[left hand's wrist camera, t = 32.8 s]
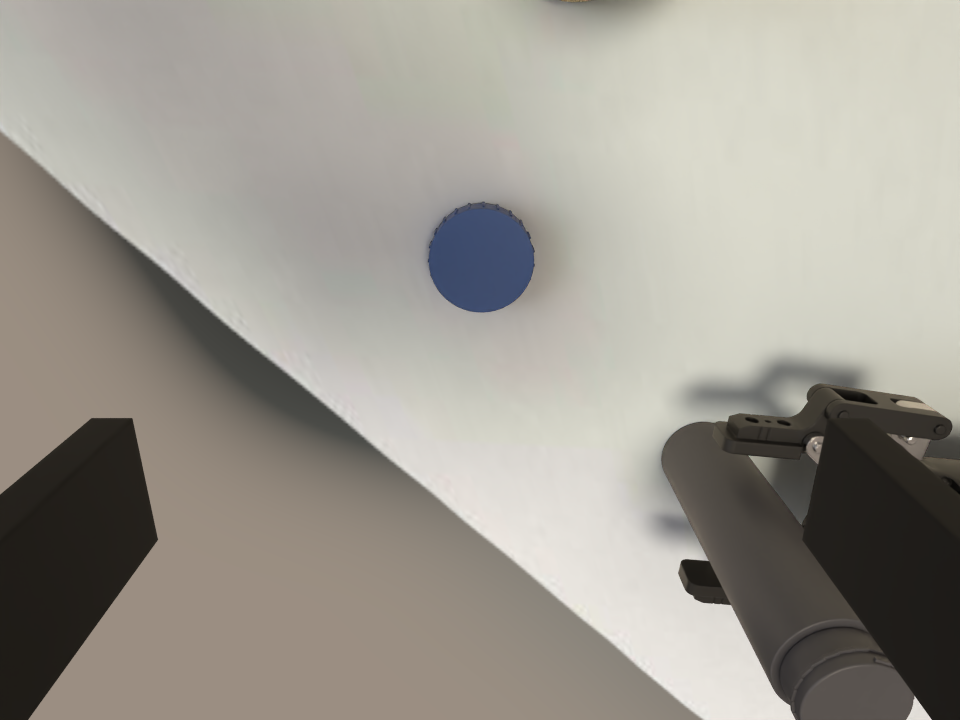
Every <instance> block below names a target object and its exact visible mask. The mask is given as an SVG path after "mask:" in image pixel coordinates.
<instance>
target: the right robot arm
mask: <svg viewBox="0 0 960 720" xmlns="http://www.w3.org/2000/svg"><path fill="white" fill-rule="evenodd" d="M807 400H808V403H807V404H806V405H805V407H804V408H803V410H802V411H801V412H800V413H799V414H797V415H795V416H792V417H788V418H785V417H774V416H763V415H760V416H759V415H750V414H736V415H732V416H729V419H728V422H722V421H719V422H716V423H715V427H714V431H713V435H712V436H713V438H714V439H715V441H716V442H717V444H718V445H719V446H720V448H721V449H722V450H723V451H725V452H727V453H731V454H739V455H750V456H762V457H773V458H785V459H796V460H799V459H800V456H801V453H807V454H808V455H809V456H810V457H811V458H812V459H813V460H814V461H815V462H816V463H817V464H818V462H819V457H820V453H821V448H822V443H823V438H824V434H825V429H826V424H827V419H828V418H869V419H870V420H871V421H872V422H873V423H875V424H876V425H877V426H878V427H879V428H881V429H882V430H883V431H884V432H885V433H887V434H888V435H889V436H890V437H891V438H893V439H894V440H895V441H896V442H897V443H899V444H900V445H901V446H902V447H903V448H904V449H906V450H907V451H908V452H909V453H910V454H912V455H913V456H914V457H915V458H916V459H918V460H919V461H920V462H921V463H922V464H924V465H925V466H926V467H927V468H928V469H930V470H931V471H932V472H933V473H934V474H936V475H937V476H938V477H939V478H940V479H942V480H943V481H944V482H945V483H946V484H948V485H949V486H950V487H951V488H952V489H954V490H955V491H956V492H957V493H958V494H960V460H956V459H945V458H933V457H924V455H925V452H926V450H927V448H928V446H929V443H930V441H931V440H941V439H943V438H945V437H947V436H948V435H949V434H950V432H951V430H952V423H951V421H950V420H949V419H947V418H946V417H944V416H943V415H941V414H940V413H938V412H937V411H935V410H934V409H932V408H931V407H929V406H928V405H926V404H925V403H923V402H922V401H920V400H919V399H917V398H915V397H909V396H903V395H896V394H889V393H882V392H875V391H868V390H862V389H855V388H848V387H841V386H834V385H827V384H816V385H814V386H813V387H811V388H810V389H809V391H808V393H807ZM811 495H812V494H811ZM806 519H807V516H806V518H805V519H804V521H803V523H802V527H803V528H804V529H805V524H806ZM678 574H679V576H680V579H681V581H682V583H683V586H684V588H685V590H686V592H688V593H689V594H691V595H693V596H694V599H696V600H698V601H700V602H703V603H715V604H725V605H731V604H730V602H729V600H728V598H727V596H726V594H725V592H724V590H723V588H722V586H721V584H720V582H719V580H718V578H717V576H716V574H715V572H714V570H713V568H712V566H711V564H710V562H709V561H701V560H689V559H685V560H682V561H681V564H680V568H679V572H678Z"/></svg>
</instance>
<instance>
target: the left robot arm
mask: <svg viewBox="0 0 960 720" xmlns="http://www.w3.org/2000/svg"><path fill="white" fill-rule="evenodd" d="M157 540H158V538H157V533H156V529H155V524H154V519H153V514H152V510H151V505H150V500H149V495H148V491H147V486H146V481H145V476H144V472H143V467H142V462H141V458H140V453H139V448H138V443H137V438H136V434H135V429H134V424H133V419H132V418H91V419H90V420H89V421H88V422H87V423H85V424H84V425H83V426H82V427H81V428H79V429H78V430H77V431H76V432H75V433H73V434H72V435H71V436H70V437H69V438H67V439H66V440H65V441H64V442H63V443H61V444H60V445H59V446H58V447H57V448H56V449H54V450H53V451H52V452H51V453H50V454H48V455H47V456H46V457H45V458H44V459H42V460H41V461H40V462H39V463H38V464H36V465H35V466H34V467H33V468H32V469H30V470H29V471H28V472H27V473H26V474H24V475H23V476H22V477H21V478H20V479H18V480H17V481H16V482H15V483H14V484H13V485H11V486H10V487H9V488H8V489H6V490H5V491H4V492H3V493H2V494H0V720H28V719H29V718H30V716H31V715H32V713H33V712H34V711H35V709H36V708H37V707H38V705H39V704H40V702H41V701H42V700H43V698H44V697H45V695H46V694H47V693H48V691H49V690H50V688H51V687H52V686H53V684H54V683H55V682H56V680H57V679H58V677H59V676H60V675H61V673H62V672H63V671H64V669H65V668H66V666H67V665H68V664H69V662H70V661H71V659H72V658H73V657H74V655H75V654H76V653H77V651H78V650H79V648H80V647H81V646H82V644H83V643H84V641H85V640H86V639H87V637H88V636H89V635H90V633H91V632H92V630H93V629H94V628H95V626H96V625H97V623H98V622H99V621H100V619H101V618H102V617H103V615H104V614H105V612H106V611H107V610H108V608H109V607H110V605H111V604H112V603H113V601H114V600H115V598H116V597H117V596H118V594H119V593H120V592H121V590H122V589H123V587H124V586H125V585H126V583H127V582H128V580H129V579H130V578H131V576H132V575H133V574H134V572H135V571H136V569H137V568H138V567H139V565H140V564H141V563H142V561H143V560H144V558H145V557H146V556H147V554H148V553H149V551H150V550H151V549H152V547H153V546H154V545H155V543H156V542H157ZM802 540H803V542H804V543H805V545H806V546H807V547H808V549H809V550H810V551H811V553H812V554H813V556H814V557H815V558H816V560H817V561H818V563H819V564H820V565H821V567H822V568H823V569H824V571H825V572H826V574H827V575H828V576H829V578H830V579H831V581H832V582H833V583H834V585H835V586H836V587H837V589H838V590H839V592H840V593H841V594H842V596H843V597H844V599H845V600H846V601H847V603H848V604H849V605H850V607H851V608H852V610H853V611H854V612H855V614H856V615H857V617H858V618H859V619H860V621H861V622H862V623H863V625H864V626H865V628H866V629H867V630H868V632H869V633H870V635H871V636H872V637H873V639H874V640H875V641H876V643H877V644H878V646H879V647H880V648H881V650H882V651H883V653H884V654H885V655H886V657H887V658H888V659H889V661H890V662H891V664H892V665H893V666H894V668H895V669H896V671H897V672H898V673H899V675H900V676H901V677H902V679H903V680H904V682H905V683H906V684H907V686H908V687H909V689H910V690H911V691H912V693H913V694H914V695H915V697H916V698H917V700H918V701H919V702H920V704H921V705H922V707H923V708H924V709H925V711H926V712H927V713H928V715H929V716H930V718H931V719H932V720H960V494H958V493H957V492H956V491H955V490H954V489H952V488H951V487H950V486H949V485H948V484H946V483H945V482H944V481H943V480H942V479H940V478H939V477H938V476H937V475H936V474H934V473H933V472H932V471H931V470H930V469H928V468H927V467H926V466H925V465H924V464H922V463H921V462H920V461H919V460H918V459H916V458H915V457H914V456H913V455H912V454H910V453H909V452H908V451H907V450H906V449H904V448H903V447H902V446H901V445H900V444H899V443H897V442H896V441H895V440H894V439H893V438H891V437H890V436H889V435H888V434H887V433H885V432H884V431H883V430H882V429H881V428H879V427H878V426H877V425H876V424H875V423H873V422H872V421H871V420H870V419H869V418H828V419H827V424H826V429H825V434H824V438H823V443H822V448H821V453H820V457H819V462H818V467H817V472H816V476H815V481H814V486H813V491H812V495H811V500H810V505H809V510H808V514H807V519H806V524H805V529H804V533H803V538H802Z"/></svg>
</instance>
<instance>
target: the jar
mask: <svg viewBox="0 0 960 720" xmlns="http://www.w3.org/2000/svg"><path fill="white" fill-rule="evenodd" d="M714 427H715V424H714V423H708V422H700V423H694V424H690V425H687V426H685V427H683V428H681V429H680V430H678V431H677V432H676V433H674V434H673V435H672V436H671V437H670V439H669V440H668V441H667V443H666V445H665V447H664V449H663V453H662V467H663V470H664V472H665V474H666V476H667V478H668V480H669V482H670V484H671V486H672V488H673V490H674V492H675V494H676V496H677V498H678V500H679V502H680V504H681V506H682V508H683V510H684V512H685V514H686V516H687V518H688V520H689V522H690V524H691V526H692V528H693V530H694V532H695V534H696V536H697V538H698V540H699V542H700V544H701V546H702V548H703V550H704V552H705V554H706V556H707V558H708V560H709V562H710V564H711V566H712V568H713V570H714V572H715V574H716V576H717V578H718V580H719V582H720V584H721V586H722V588H723V590H724V592H725V594H726V596H727V598H728V600H729V602H730V604H731V606H732V608H733V610H734V612H735V614H736V616H737V618H738V619H739V621H740V623H741V625H742V627H743V629H744V631H745V633H746V635H747V637H748V639H749V641H750V643H751V645H752V647H753V649H754V651H755V653H756V655H757V657H758V659H759V661H760V663H761V665H762V667H763V669H764V671H765V673H766V675H767V677H768V679H769V681H770V683H771V685H772V687H773V689H774V691H775V692H776V694H777V695H778V696H779V697H780V698H781V699H782V700H783V701H784V702H786V703H787V704H789V705H791V711H792V713H793V715H794V717H795V719H796V720H906V719H907V717H908V716H909V714H910V712H911V709H912V706H913V699H914V694H913V693H912V691H911V690H910V689H909V687H908V686H907V684H906V683H905V682H904V680H903V679H902V677H901V676H900V675H899V673H898V672H897V671H896V669H895V668H894V666H893V665H892V664H891V662H890V661H889V659H888V658H887V657H886V655H885V654H884V653H883V651H882V650H881V648H880V647H879V646H878V644H877V643H876V641H875V640H874V639H873V637H872V636H871V635H870V633H869V632H868V630H867V629H866V628H865V626H864V625H863V623H862V622H861V621H860V619H859V618H858V617H857V615H856V614H855V612H854V611H853V610H852V608H851V607H850V605H849V604H848V603H847V601H846V600H845V599H844V597H843V596H842V594H841V593H840V592H839V590H838V589H837V587H836V586H835V585H834V583H833V582H832V581H831V579H830V578H829V576H828V575H827V574H826V572H825V571H824V569H823V568H822V567H821V565H820V564H819V563H818V561H817V560H816V558H815V557H814V556H813V554H812V553H811V551H810V550H809V549H808V547H807V546H806V545H805V543H804V542H803V540H802V538H803V533H804V528H803V527H802V525H801V524H800V523H799V522H798V520H797V519H796V518H795V516H794V515H793V514H792V512H791V511H790V510H789V509H788V507H787V506H786V505H785V503H784V502H783V501H782V499H781V498H780V497H779V495H778V494H777V493H776V492H775V490H774V489H773V488H772V486H771V485H770V484H769V482H768V481H767V480H766V478H765V477H764V476H763V475H762V473H761V472H760V471H759V469H758V468H757V467H756V465H755V464H754V463H753V461H752V460H751V459H750V458H749V456H748V455H739V454H731V453H727V452H725V451H723V450H722V449H721V448H720V446H719V445H718V444H717V442H716V441H715V439H714V438H713V436H712V435H713V431H714Z"/></svg>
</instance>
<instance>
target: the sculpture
mask: <svg viewBox="0 0 960 720" xmlns="http://www.w3.org/2000/svg"><path fill="white" fill-rule="evenodd" d="M561 1H566V2H582V1H591V0H561Z"/></svg>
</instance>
